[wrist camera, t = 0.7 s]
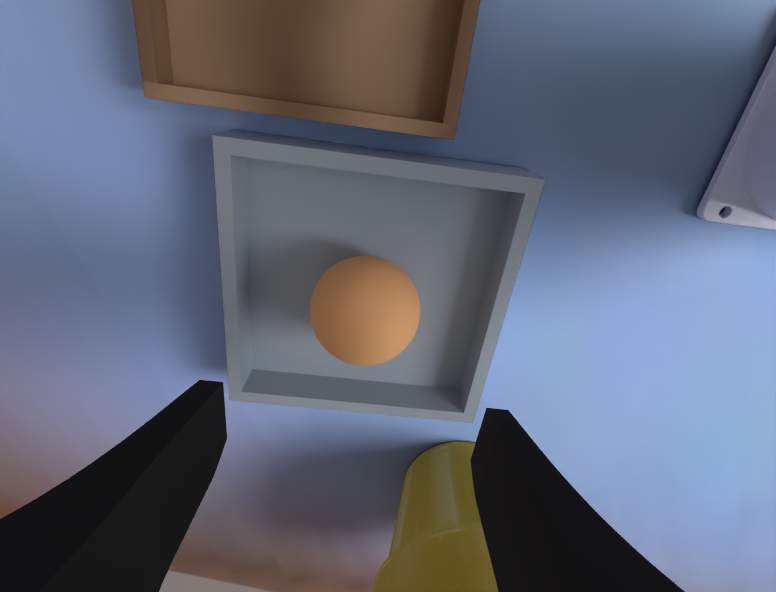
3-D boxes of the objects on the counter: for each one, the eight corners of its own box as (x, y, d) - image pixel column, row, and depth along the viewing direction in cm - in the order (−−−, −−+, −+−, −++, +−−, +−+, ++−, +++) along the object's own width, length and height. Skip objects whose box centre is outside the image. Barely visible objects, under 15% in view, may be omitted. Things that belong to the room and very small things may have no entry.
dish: (525, 168, 17) (545, 179, 15) (464, 391, 23) (472, 422, 20) (234, 129, 16) (212, 135, 14) (244, 370, 22) (229, 400, 20)
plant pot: (407, 396, 23) (421, 585, 14) (568, 439, 24) (669, 633, 16) (354, 509, 27) (340, 706, 19) (493, 539, 29) (540, 734, 20)
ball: (423, 246, 18) (435, 292, 14) (408, 333, 20) (414, 394, 16) (321, 234, 18) (302, 277, 14) (316, 323, 20) (298, 383, 16)
